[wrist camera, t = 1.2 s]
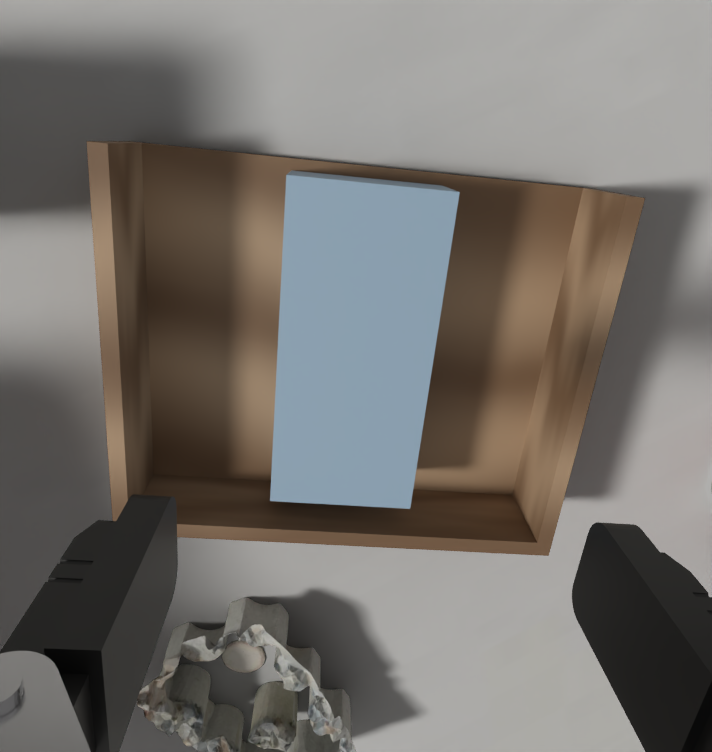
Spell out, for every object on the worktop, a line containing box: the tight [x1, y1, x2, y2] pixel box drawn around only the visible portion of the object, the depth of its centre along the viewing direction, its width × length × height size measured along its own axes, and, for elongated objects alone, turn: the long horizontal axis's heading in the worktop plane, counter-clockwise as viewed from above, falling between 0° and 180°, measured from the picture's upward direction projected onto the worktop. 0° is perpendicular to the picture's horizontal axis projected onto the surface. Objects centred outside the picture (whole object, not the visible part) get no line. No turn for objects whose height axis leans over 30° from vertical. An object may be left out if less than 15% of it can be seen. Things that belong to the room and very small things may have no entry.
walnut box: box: [87, 141, 645, 556], centre depth 22 cm, size 14×17×4 cm
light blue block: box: [270, 170, 460, 509], centre depth 22 cm, size 12×6×3 cm, turn 174°
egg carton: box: [137, 598, 356, 752], centre depth 29 cm, size 11×8×4 cm
